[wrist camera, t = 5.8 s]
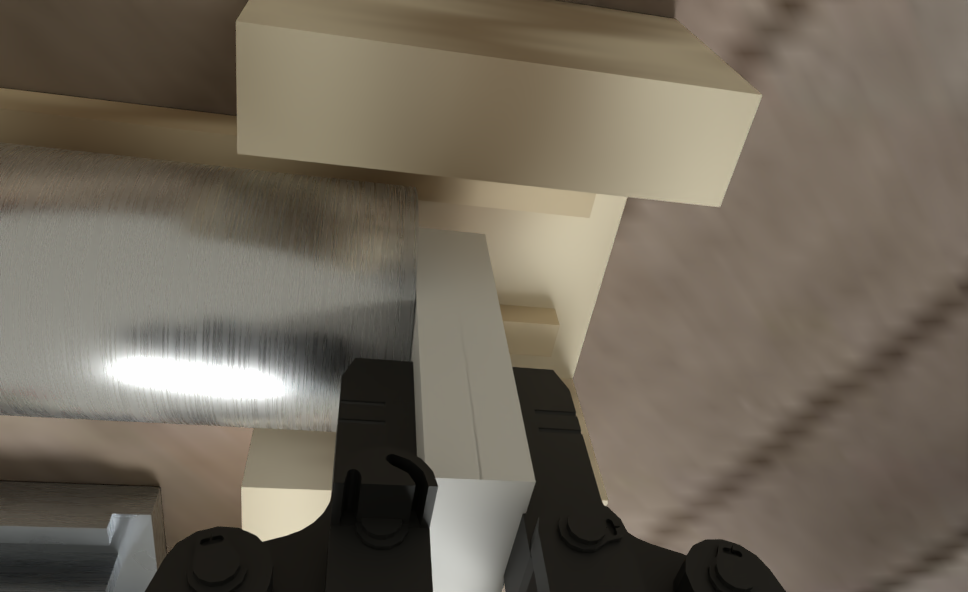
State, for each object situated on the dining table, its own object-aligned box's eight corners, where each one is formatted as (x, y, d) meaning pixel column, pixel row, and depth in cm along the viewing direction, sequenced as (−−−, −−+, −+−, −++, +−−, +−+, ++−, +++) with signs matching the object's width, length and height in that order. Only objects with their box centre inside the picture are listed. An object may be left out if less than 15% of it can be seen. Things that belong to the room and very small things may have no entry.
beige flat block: (675, 18, 16) (762, 94, 12) (554, 425, 22) (587, 556, 18) (-690, -195, 12) (-1185, -178, 8) (-361, 374, 18) (-556, 529, 14)
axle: (416, 142, 16) (421, 291, 12) (392, 322, 19) (390, 487, 15) (-181, 71, 14) (-403, 222, 10) (-100, 284, 17) (-248, 463, 13)
